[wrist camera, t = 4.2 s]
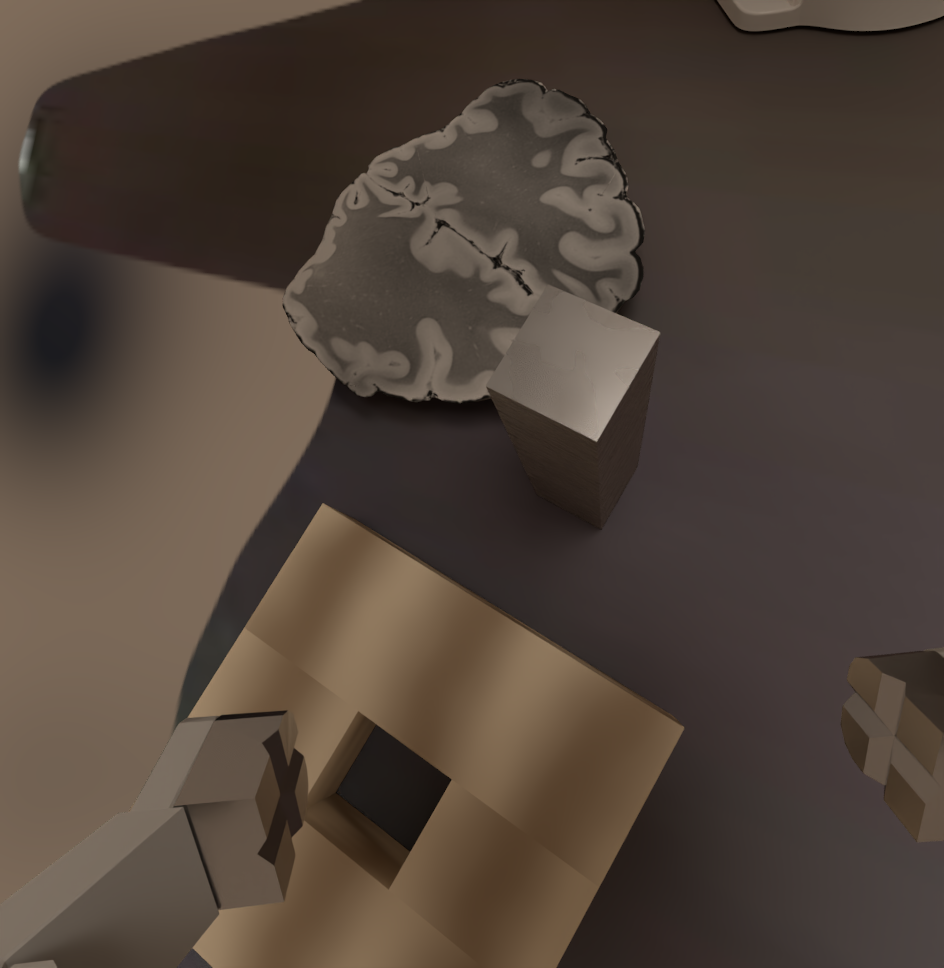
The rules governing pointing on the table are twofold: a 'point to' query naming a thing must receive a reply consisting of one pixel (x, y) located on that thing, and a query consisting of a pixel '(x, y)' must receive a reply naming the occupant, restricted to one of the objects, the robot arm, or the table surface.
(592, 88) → the table surface
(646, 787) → the socket block
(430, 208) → the brain slice
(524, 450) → the square bit
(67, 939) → the robot arm
